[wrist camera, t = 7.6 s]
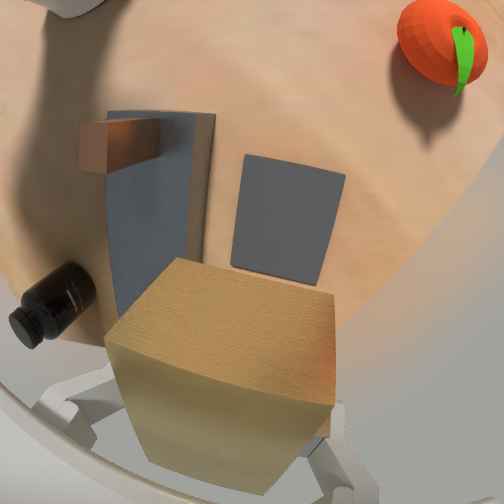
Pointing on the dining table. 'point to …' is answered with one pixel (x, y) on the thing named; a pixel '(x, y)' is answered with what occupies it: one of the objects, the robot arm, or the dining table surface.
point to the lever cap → (225, 373)
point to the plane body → (149, 190)
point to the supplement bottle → (52, 304)
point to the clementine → (442, 42)
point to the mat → (285, 218)
